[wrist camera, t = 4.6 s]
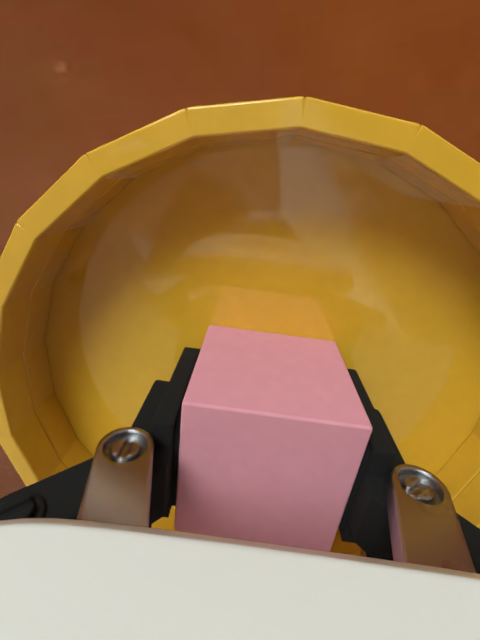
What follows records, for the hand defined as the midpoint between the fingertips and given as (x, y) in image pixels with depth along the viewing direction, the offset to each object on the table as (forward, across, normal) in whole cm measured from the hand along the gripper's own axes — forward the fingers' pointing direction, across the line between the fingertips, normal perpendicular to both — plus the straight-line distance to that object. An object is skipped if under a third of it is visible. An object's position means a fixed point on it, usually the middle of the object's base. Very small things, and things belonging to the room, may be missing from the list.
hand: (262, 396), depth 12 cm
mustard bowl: (+1, 0, 0) cm, 1 cm away
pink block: (+1, 0, 0) cm, 1 cm away
